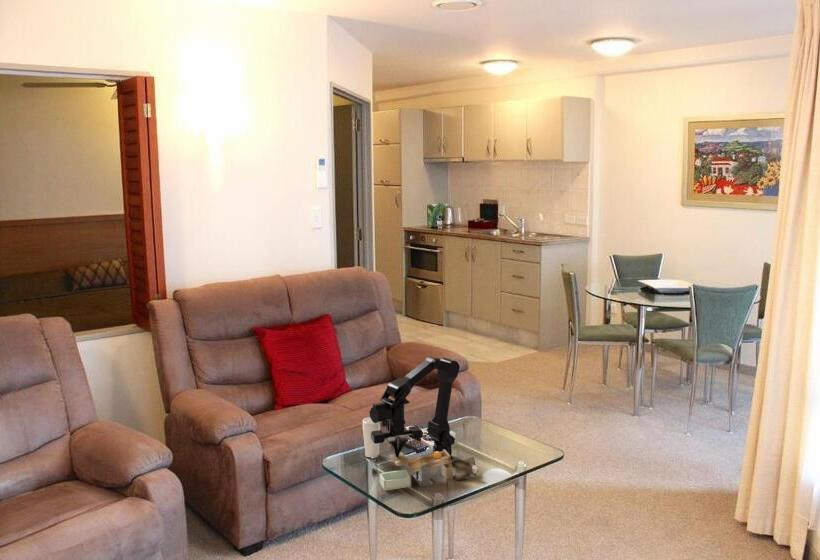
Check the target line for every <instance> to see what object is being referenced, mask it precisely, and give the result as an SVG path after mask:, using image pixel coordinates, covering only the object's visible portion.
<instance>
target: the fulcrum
mask: <svg viewBox="0 0 820 560" xmlns="http://www.w3.org/2000/svg"><path fill="white" fill-rule="evenodd" d="M419 457H420V456H418V457H417V458H419ZM453 470H454V469H453V465H452V464H451V462H450V463H447V464H443V465H441V475H442V476H443V477H444V478H445V480H454V479H453V477H454V475H453V473H454V472H453ZM414 473H415V474H412V477H413V478H414V480H415V481H416V483H417V484H418V486H419V487H420V488H421V487H426V486H431V485H432V486H433V485H434V483H433V480H432V479H431V468H430V465H429V466H422V470H421V471H417V472H414Z"/></svg>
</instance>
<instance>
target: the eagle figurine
mask: <svg viewBox="0 0 820 560" xmlns="http://www.w3.org/2000/svg"><path fill="white" fill-rule="evenodd" d="M475 461H476V460H473V463H472V464H473V465H471V463H470V462H468V461H465V460H462V459H461V458H460V459H459V458H458V459H453V460H451V462H450V465H451V466H452V467H454V468H457V469H460V470H464V471H461V472H459V473H457V474H454V475H453V479H452V480H453V481H454V480H455V481H460V480H463V479H465V478H469V477H470V476H471V474H473V476H475V477H476V476H477V472H479V471H478V469H479V466H477V463H476V462H475Z"/></svg>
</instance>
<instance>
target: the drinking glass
mask: <svg viewBox="0 0 820 560" xmlns="http://www.w3.org/2000/svg"><path fill="white" fill-rule="evenodd" d="M378 430H381V422H378V423H374V422H373V421H372V420H371V418H370V416H369V417H365V418H363V419H362V433H363V443H364V455H365V457H366V458H367V457H374V458H373V459H376V458H378V457H379V455H380V452H379V451H380V443H377V444H375V443H374V442H373V441H372V439H371V432H372V431H378Z"/></svg>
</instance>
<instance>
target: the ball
mask: <svg viewBox="0 0 820 560" xmlns="http://www.w3.org/2000/svg"><path fill="white" fill-rule="evenodd" d="M432 454H433V458H434V459H435V460H438V459H441V453H440V452H439V451H436V452H434V453H433V452H432Z"/></svg>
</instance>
